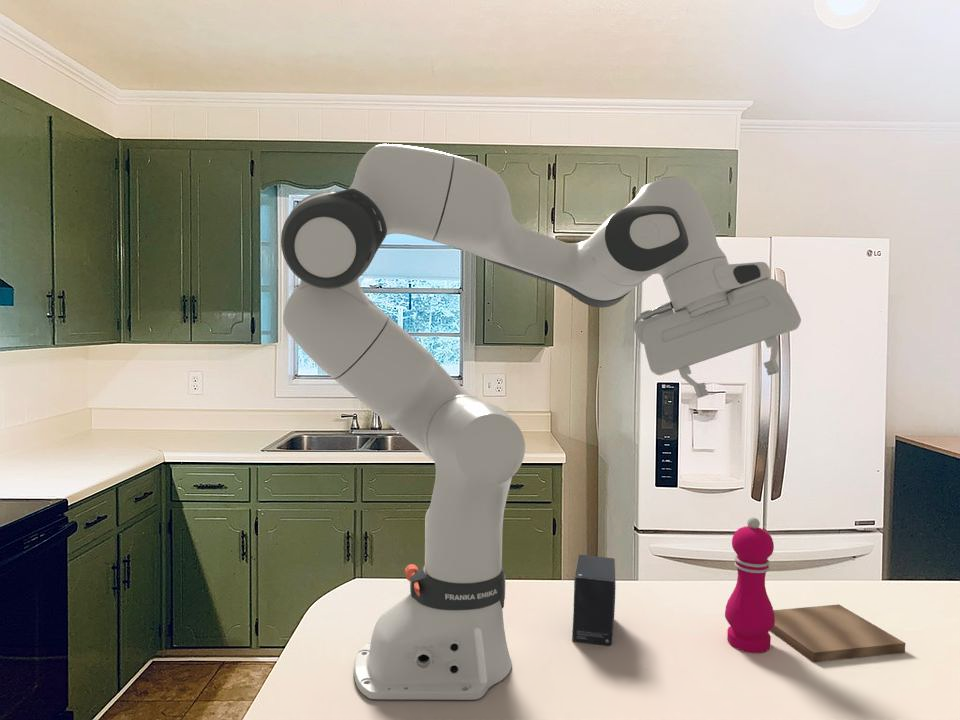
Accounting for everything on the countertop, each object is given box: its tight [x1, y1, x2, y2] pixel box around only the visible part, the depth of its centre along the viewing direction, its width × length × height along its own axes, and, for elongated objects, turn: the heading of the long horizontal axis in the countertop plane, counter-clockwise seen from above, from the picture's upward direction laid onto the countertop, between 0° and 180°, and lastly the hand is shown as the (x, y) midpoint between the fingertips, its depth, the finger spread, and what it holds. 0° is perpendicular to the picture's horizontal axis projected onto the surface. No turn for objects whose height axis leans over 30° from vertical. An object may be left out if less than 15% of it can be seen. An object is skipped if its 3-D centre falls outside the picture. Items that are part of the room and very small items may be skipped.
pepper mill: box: [724, 517, 775, 654], centre depth 105 cm, size 7×7×20 cm
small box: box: [571, 554, 617, 646], centre depth 110 cm, size 11×6×10 cm, turn 168°
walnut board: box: [769, 603, 906, 663], centre depth 109 cm, size 16×14×2 cm
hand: (738, 385), depth 92 cm, fingers open, 8 cm apart
